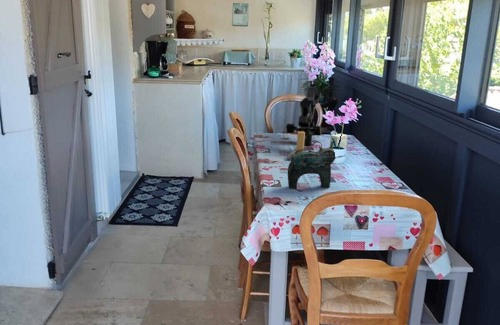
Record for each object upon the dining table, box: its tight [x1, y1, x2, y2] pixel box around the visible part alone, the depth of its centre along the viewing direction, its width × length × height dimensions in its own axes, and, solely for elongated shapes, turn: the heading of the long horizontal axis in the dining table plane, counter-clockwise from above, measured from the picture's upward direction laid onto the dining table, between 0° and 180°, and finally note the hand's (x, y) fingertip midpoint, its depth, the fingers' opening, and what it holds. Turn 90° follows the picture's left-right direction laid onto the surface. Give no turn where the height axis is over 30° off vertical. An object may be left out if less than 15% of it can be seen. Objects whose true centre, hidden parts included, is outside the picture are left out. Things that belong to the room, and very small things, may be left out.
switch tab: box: [295, 131, 305, 154], centre depth 237 cm, size 2×4×11 cm, turn 75°
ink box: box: [329, 133, 349, 150], centre depth 240 cm, size 9×5×12 cm, turn 129°
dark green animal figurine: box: [287, 140, 336, 190], centre depth 188 cm, size 20×6×20 cm, turn 99°
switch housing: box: [286, 147, 308, 162], centre depth 236 cm, size 16×10×3 cm, turn 165°
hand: (301, 142), depth 240 cm, fingers closed
